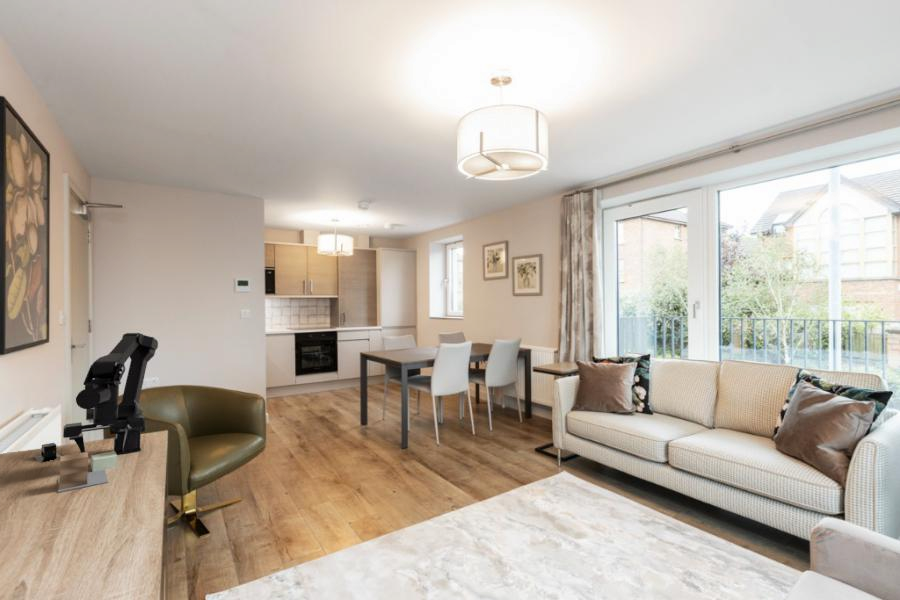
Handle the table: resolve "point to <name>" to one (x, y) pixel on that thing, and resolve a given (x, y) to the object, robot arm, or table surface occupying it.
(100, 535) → the table surface
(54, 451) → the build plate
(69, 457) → the walnut block upper
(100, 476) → the slate mat
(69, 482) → the walnut block lower
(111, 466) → the sage block
